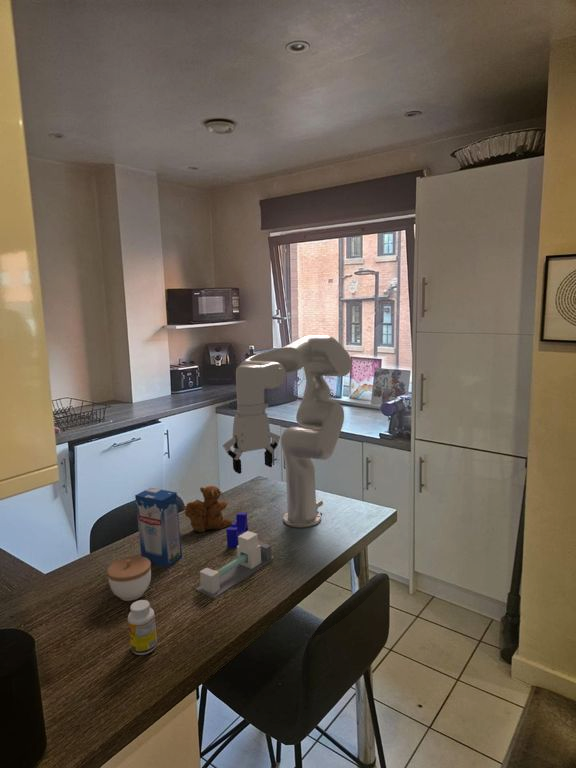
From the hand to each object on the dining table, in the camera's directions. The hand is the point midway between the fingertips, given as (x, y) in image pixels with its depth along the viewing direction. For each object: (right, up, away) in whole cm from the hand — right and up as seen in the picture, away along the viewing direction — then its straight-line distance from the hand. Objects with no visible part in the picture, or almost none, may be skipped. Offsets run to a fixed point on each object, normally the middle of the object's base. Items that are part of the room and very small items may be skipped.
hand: (253, 469), depth 146 cm
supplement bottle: (-22, -34, -33) cm, 52 cm away
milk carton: (-27, -27, +5) cm, 39 cm away
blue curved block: (-7, -25, +16) cm, 30 cm away
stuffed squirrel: (-16, -23, +25) cm, 38 cm away
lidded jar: (-30, -30, -12) cm, 45 cm away
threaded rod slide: (-4, -28, -5) cm, 28 cm away
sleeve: (-1, -26, -1) cm, 26 cm away
